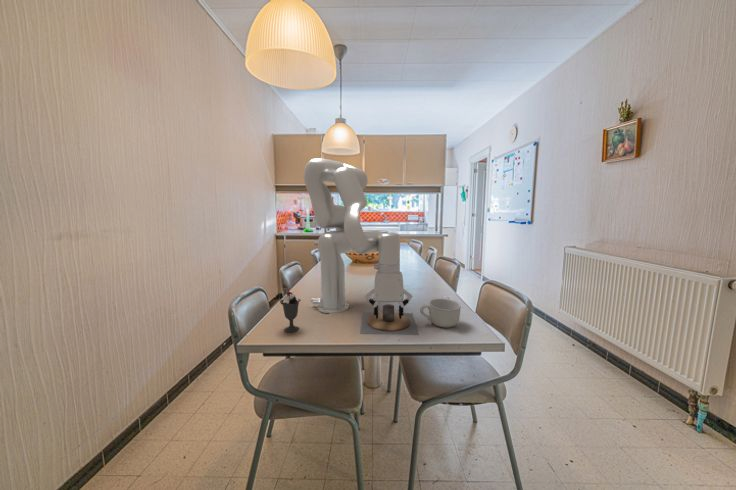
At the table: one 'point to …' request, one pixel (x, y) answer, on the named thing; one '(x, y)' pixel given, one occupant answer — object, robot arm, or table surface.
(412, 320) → the mat
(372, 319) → the lid
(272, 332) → the table surface
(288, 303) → the sundae
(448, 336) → the table surface
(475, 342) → the table surface
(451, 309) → the teacup
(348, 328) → the table surface
